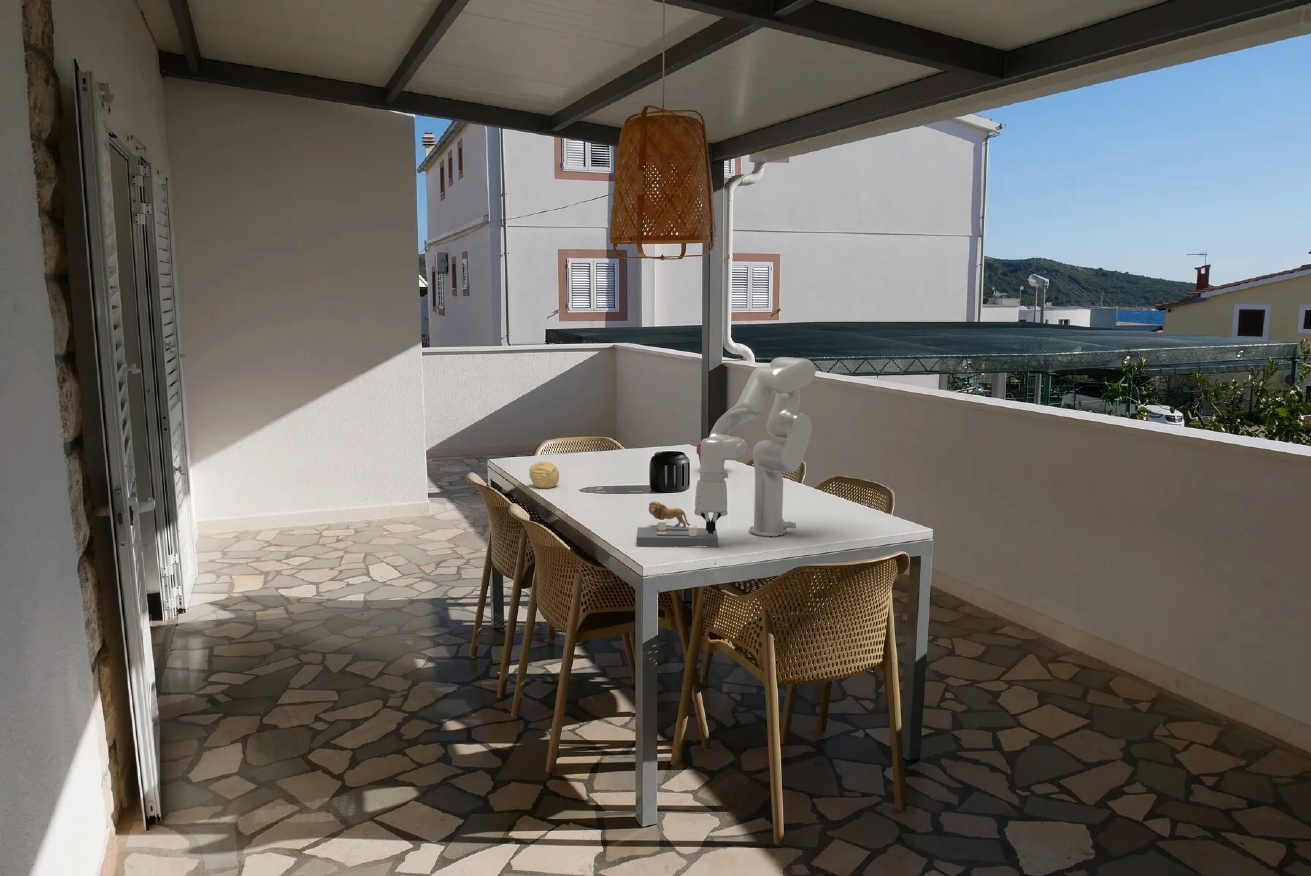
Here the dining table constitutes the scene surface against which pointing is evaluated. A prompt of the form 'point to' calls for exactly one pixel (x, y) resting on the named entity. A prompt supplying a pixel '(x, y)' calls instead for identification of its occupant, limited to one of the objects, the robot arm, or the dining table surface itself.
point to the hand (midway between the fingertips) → (710, 532)
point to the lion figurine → (667, 513)
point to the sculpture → (544, 475)
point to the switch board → (675, 537)
